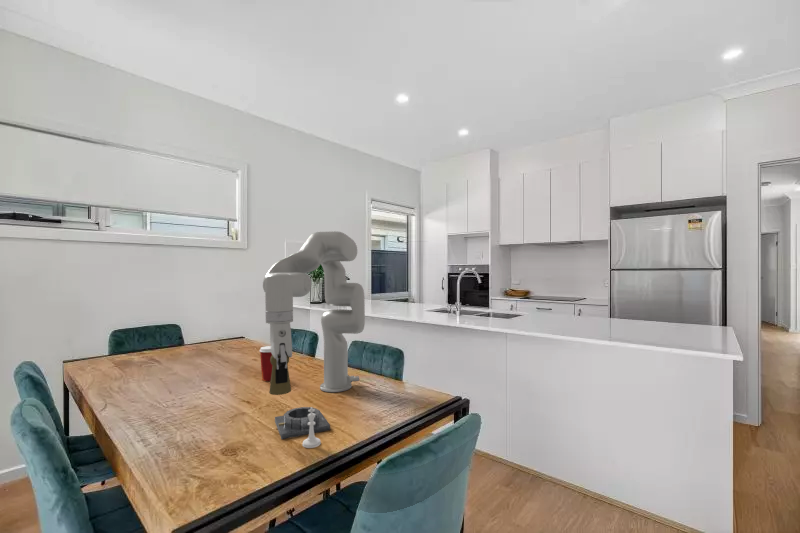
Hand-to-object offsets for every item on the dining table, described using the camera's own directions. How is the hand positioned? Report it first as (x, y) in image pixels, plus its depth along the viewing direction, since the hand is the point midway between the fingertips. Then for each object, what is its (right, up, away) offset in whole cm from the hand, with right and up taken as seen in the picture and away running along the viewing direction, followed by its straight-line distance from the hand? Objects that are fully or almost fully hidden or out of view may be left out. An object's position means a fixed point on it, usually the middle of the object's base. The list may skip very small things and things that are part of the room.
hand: (280, 379), depth 110 cm
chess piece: (+10, -16, -5) cm, 20 cm away
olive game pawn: (0, -3, 0) cm, 3 cm away
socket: (+4, -16, +7) cm, 18 cm away
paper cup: (-23, -17, +58) cm, 64 cm away
